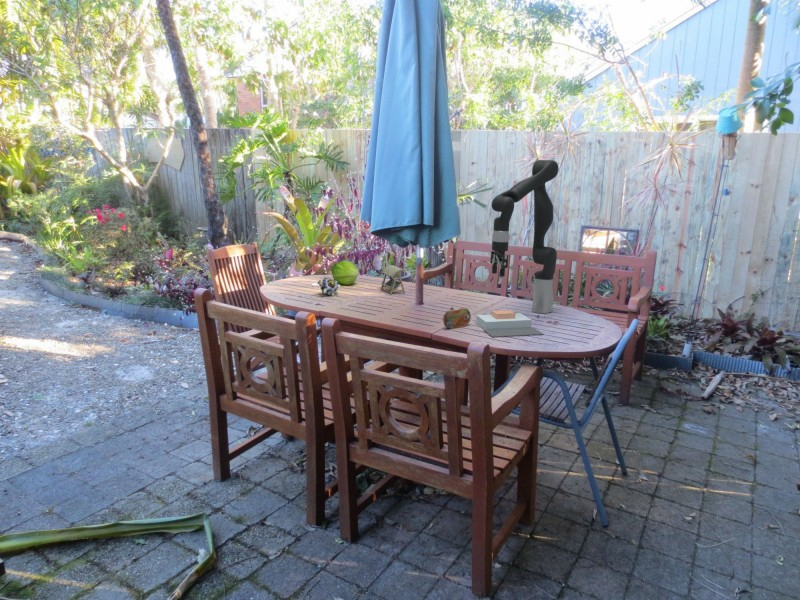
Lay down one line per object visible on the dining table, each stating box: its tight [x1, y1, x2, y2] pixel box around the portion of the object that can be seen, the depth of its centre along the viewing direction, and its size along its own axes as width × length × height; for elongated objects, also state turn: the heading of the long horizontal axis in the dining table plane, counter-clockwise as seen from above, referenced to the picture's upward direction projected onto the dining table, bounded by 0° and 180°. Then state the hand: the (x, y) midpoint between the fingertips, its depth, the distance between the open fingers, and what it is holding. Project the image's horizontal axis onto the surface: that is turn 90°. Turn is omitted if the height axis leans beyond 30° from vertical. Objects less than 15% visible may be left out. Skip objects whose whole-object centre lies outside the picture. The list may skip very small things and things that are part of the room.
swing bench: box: [380, 264, 407, 296], centre depth 315 cm, size 15×10×15 cm, turn 27°
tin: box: [442, 307, 472, 330], centre depth 245 cm, size 15×3×8 cm, turn 126°
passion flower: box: [317, 275, 341, 297], centre depth 306 cm, size 13×12×14 cm
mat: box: [483, 327, 545, 339], centre depth 238 cm, size 24×10×1 cm, turn 102°
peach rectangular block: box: [491, 309, 515, 319], centre depth 248 cm, size 9×6×2 cm, turn 102°
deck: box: [475, 312, 532, 331], centre depth 249 cm, size 22×12×4 cm, turn 102°
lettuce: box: [331, 260, 360, 286], centre depth 334 cm, size 15×23×16 cm
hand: (498, 274), depth 253 cm, fingers open, 8 cm apart
